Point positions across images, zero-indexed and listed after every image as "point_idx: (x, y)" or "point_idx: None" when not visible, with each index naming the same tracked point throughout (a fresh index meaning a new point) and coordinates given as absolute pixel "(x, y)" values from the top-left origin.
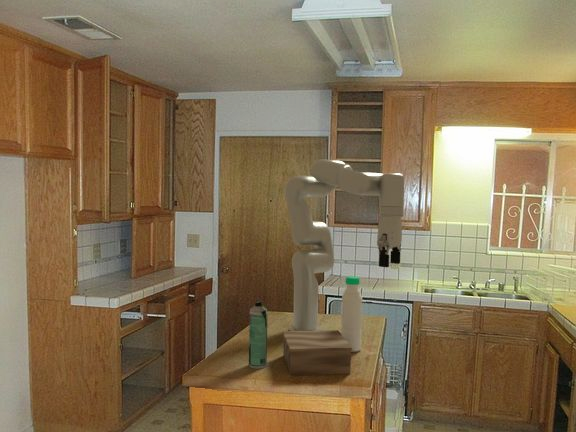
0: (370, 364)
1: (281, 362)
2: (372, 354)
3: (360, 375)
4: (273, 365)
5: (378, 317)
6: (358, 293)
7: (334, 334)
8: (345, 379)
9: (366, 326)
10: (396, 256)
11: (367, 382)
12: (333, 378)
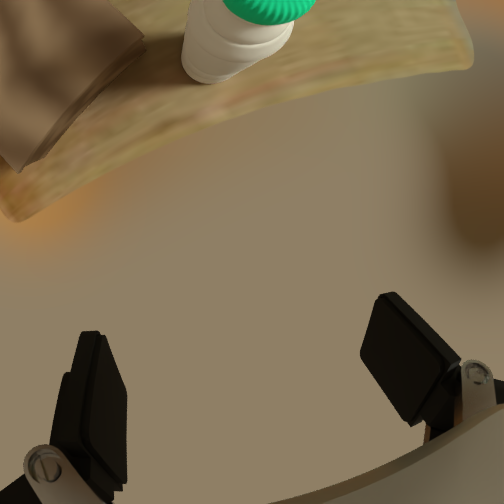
0: (126, 156)
1: None
2: (203, 122)
3: (51, 179)
4: None
5: (471, 59)
6: (239, 42)
7: (90, 54)
8: None
9: (412, 41)
10: (395, 379)
11: (32, 212)
12: None
